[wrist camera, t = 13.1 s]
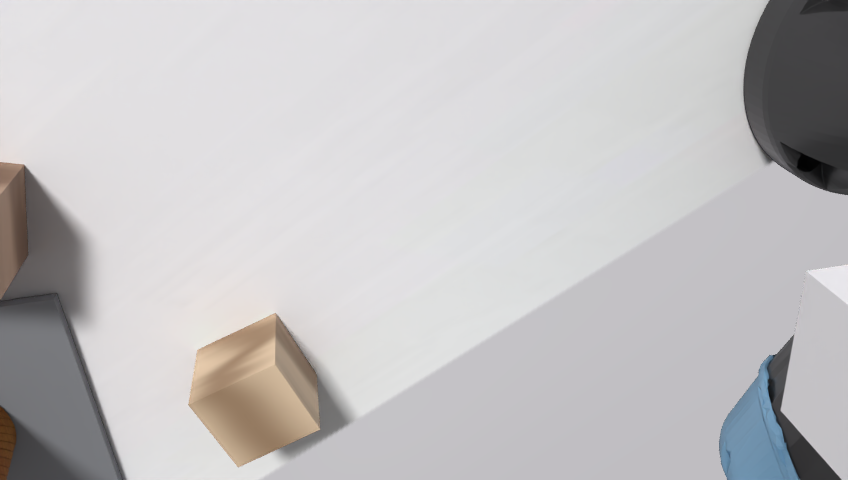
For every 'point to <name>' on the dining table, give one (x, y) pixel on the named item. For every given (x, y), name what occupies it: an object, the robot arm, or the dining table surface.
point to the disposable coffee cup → (6, 443)
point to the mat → (49, 397)
